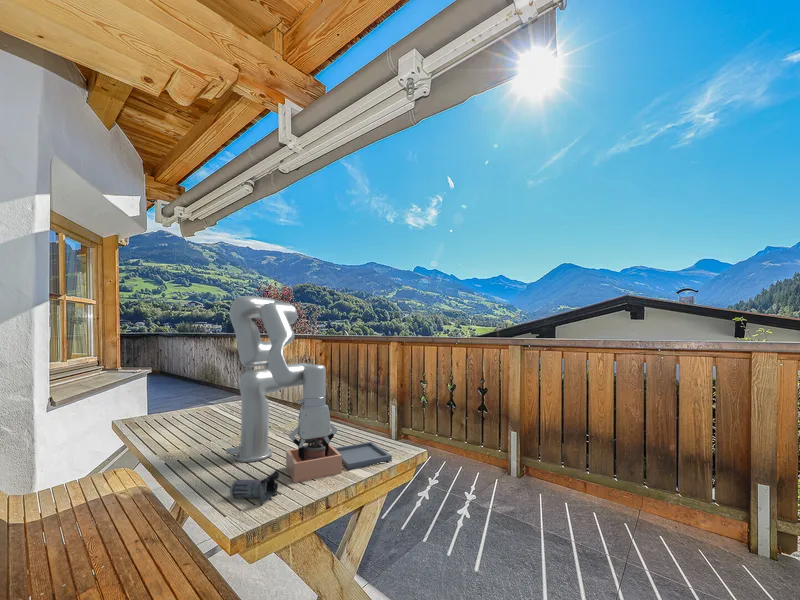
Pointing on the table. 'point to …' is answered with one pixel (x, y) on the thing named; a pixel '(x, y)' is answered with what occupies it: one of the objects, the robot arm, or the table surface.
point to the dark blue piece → (256, 488)
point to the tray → (362, 455)
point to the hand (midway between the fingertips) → (313, 456)
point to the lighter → (313, 449)
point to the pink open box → (313, 465)
